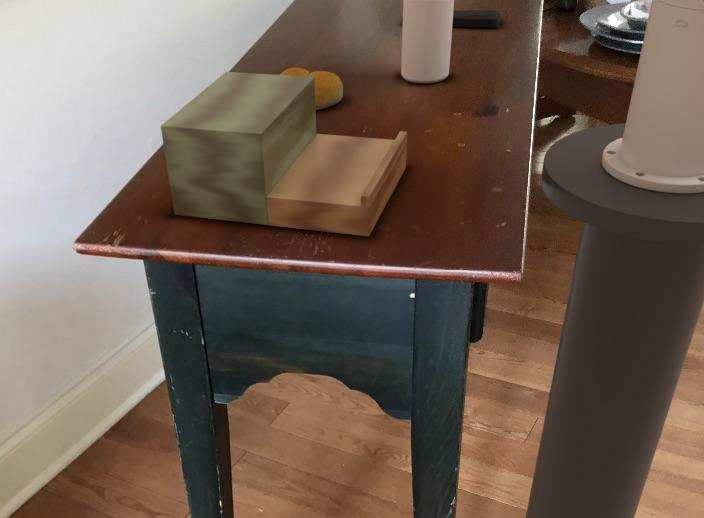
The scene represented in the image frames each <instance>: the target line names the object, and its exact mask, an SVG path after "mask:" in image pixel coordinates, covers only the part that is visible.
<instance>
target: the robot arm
mask: <svg viewBox="0 0 704 518" xmlns="http://www.w3.org/2000/svg"><path fill="white" fill-rule="evenodd" d="M650 4H651V5H650V8H649V12H648V18H647V23H646V27H645V32H644V35H643V36H644V37H643V40H642V46H641V51H640V55H639V58H638V63H637V64H638V65H637V69H636V73H635V78H634V82H633V88H632V92H631V97H630V101H629V102H630V103H629V107H628V111H627V116H626V121H625V123H626V125H625V129H624V134H623V138H620V139H617V140H615V141H613V142H611V143H610V144H609V145H607V146H606V147H605V149H604V151H603V156H602V165H603V167H604V169H605V170H606V171H607V172H608V173H609V174H610V175H611V176H613V177H614V178H616V179H618V180H620V181H622V182H624V183H627V184H629V185H632V186H635V187H639V188H642V189H646V190H651V191H656V192H664V193H677V194H692V193H703V192H704V0H651V3H650Z"/></svg>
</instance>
